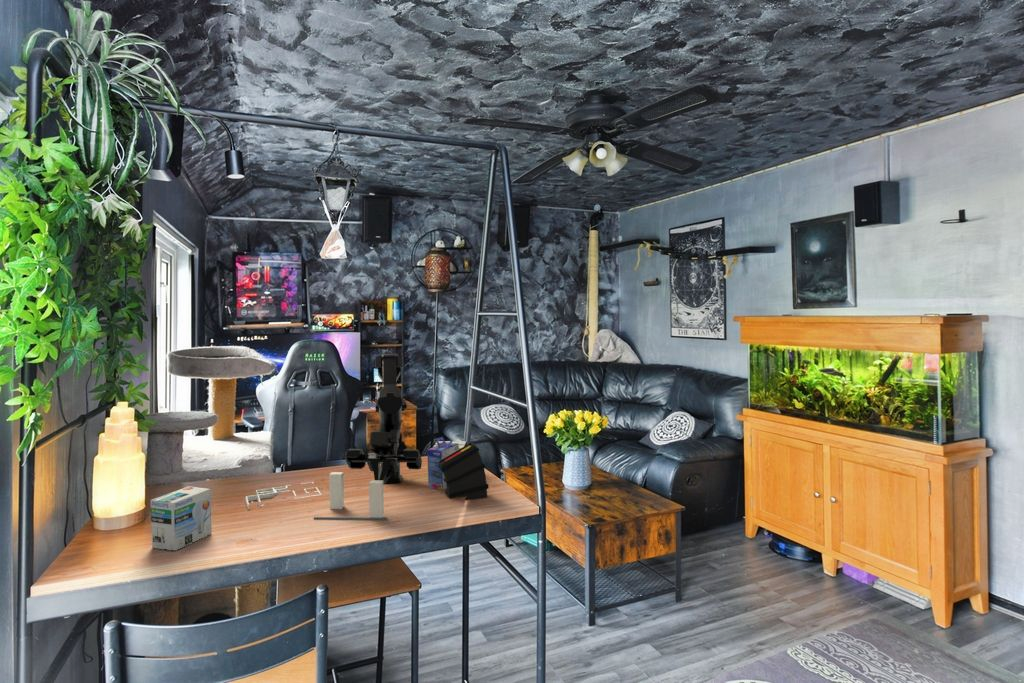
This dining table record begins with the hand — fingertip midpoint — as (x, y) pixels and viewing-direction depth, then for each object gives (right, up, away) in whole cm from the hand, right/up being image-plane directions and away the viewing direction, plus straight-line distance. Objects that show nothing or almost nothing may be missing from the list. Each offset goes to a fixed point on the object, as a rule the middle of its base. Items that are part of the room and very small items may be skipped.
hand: (377, 489), depth 141 cm
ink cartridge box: (+13, -6, +27) cm, 31 cm away
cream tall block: (-12, -6, +6) cm, 15 cm away
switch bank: (-6, -8, +4) cm, 10 cm away
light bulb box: (-41, -9, -12) cm, 44 cm away
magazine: (+20, -7, +17) cm, 27 cm away
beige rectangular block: (0, -7, -1) cm, 7 cm away
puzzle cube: (+14, -6, +38) cm, 41 cm away
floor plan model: (-29, -8, +15) cm, 33 cm away
